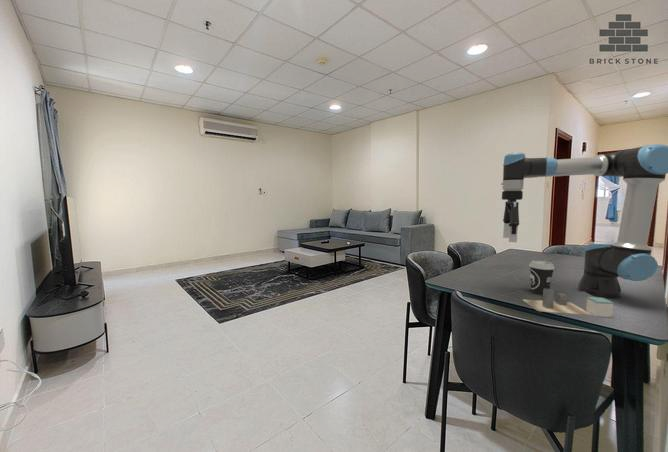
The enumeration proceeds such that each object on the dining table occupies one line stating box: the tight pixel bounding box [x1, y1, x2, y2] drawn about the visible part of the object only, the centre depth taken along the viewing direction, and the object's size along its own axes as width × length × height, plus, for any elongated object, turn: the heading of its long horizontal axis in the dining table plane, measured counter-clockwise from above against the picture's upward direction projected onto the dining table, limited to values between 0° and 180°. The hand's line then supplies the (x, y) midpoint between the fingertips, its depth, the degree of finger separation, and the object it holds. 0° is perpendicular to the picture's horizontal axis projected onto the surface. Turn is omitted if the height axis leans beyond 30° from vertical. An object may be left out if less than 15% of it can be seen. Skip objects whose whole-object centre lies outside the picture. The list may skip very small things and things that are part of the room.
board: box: [521, 298, 593, 316], centre depth 114 cm, size 18×13×1 cm
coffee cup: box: [528, 260, 555, 296], centre depth 131 cm, size 10×10×15 cm
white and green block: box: [585, 296, 614, 318], centre depth 107 cm, size 5×5×7 cm
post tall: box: [542, 288, 556, 308], centre depth 114 cm, size 3×3×7 cm
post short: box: [555, 292, 568, 305], centre depth 117 cm, size 3×3×4 cm
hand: (509, 239), depth 125 cm, fingers open, 13 cm apart
